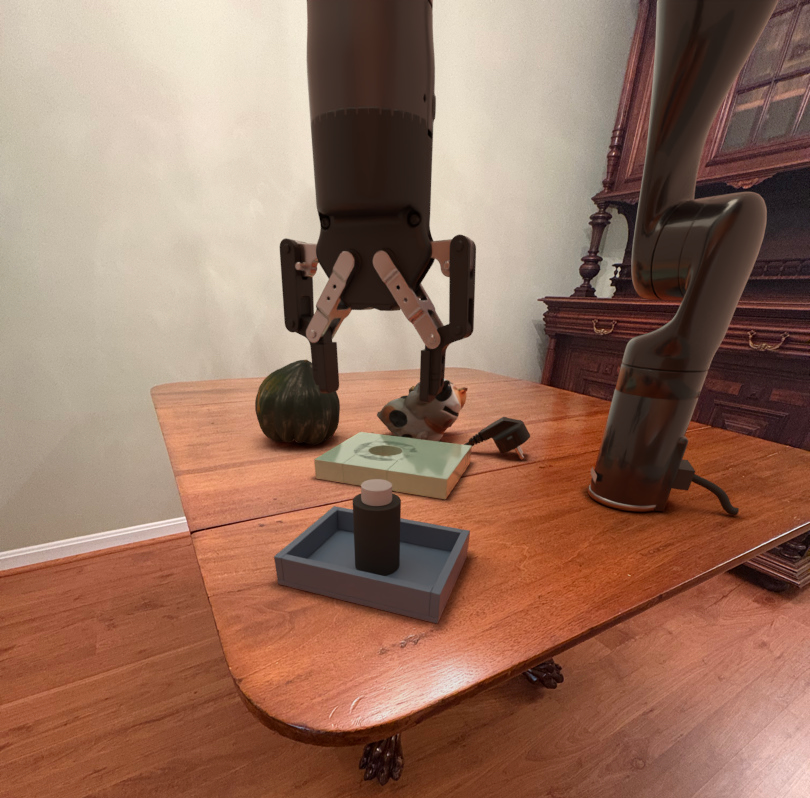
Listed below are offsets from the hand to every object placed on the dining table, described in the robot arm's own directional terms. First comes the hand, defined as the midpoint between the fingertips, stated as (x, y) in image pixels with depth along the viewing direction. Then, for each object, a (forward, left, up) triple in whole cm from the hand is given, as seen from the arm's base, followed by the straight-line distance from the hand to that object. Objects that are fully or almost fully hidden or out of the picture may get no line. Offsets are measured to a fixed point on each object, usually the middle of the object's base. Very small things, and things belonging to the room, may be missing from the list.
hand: (377, 396), depth 34 cm
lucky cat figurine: (+10, -46, -17) cm, 50 cm away
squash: (+30, -35, -17) cm, 49 cm away
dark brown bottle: (0, 0, -16) cm, 16 cm away
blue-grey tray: (0, 0, -17) cm, 17 cm away
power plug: (-4, -41, -17) cm, 44 cm away
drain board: (+8, -27, -17) cm, 33 cm away
